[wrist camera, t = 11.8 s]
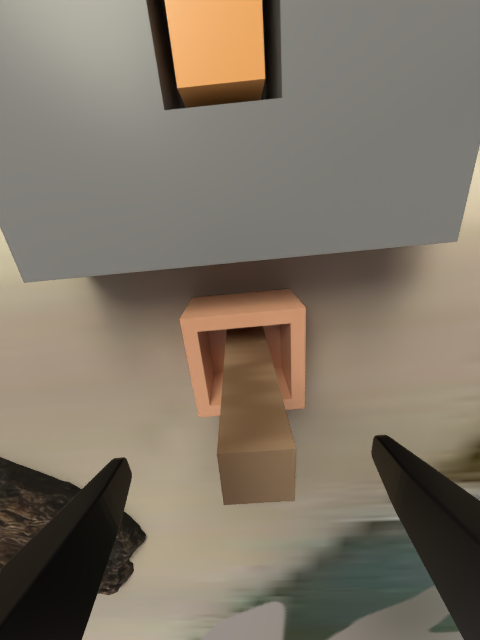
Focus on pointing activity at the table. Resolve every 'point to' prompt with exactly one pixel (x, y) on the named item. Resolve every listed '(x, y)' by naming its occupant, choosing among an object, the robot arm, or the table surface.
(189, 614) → the table surface
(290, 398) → the holder
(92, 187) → the box
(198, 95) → the button
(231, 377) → the brown wooden bar
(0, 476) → the stone relief
